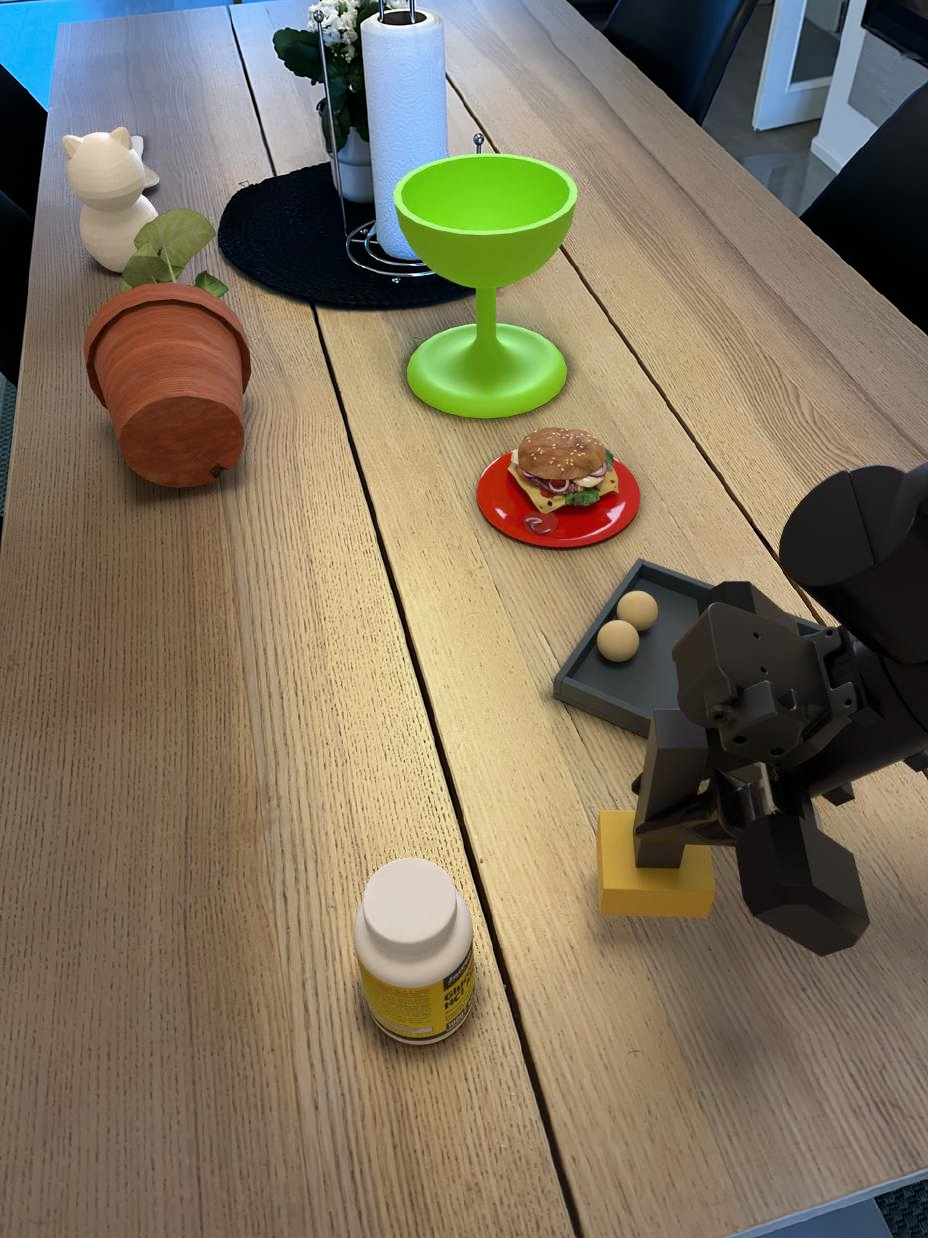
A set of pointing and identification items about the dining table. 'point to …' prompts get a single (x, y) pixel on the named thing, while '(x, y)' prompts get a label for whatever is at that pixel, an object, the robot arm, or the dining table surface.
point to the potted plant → (171, 359)
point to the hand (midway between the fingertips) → (637, 813)
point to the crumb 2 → (618, 640)
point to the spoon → (150, 176)
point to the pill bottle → (415, 951)
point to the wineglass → (486, 276)
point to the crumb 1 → (638, 610)
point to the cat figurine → (108, 194)
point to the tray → (642, 656)
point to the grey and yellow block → (657, 871)
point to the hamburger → (558, 490)
